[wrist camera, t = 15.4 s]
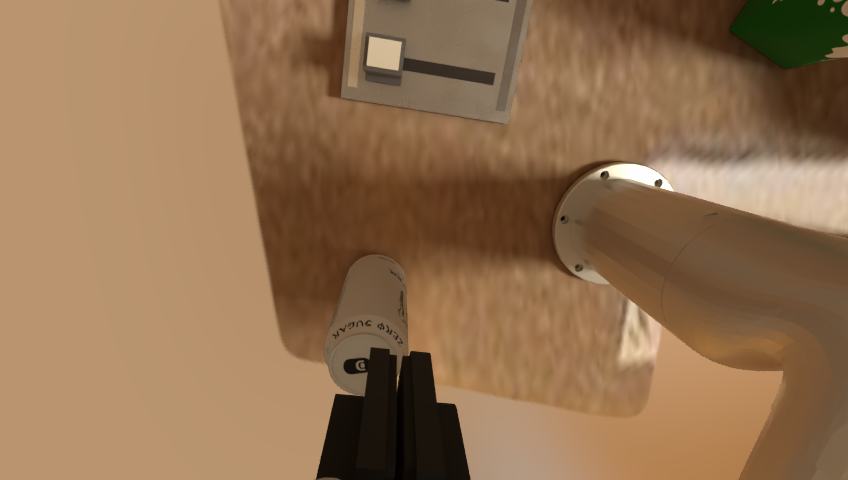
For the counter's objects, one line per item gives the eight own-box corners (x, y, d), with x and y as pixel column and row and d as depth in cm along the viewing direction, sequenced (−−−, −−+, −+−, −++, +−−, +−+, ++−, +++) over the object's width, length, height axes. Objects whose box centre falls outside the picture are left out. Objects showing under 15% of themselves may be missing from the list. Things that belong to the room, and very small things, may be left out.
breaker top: (406, 40, 33) (407, 30, 30) (400, 85, 34) (400, 82, 31) (370, 33, 33) (366, 23, 29) (365, 80, 34) (361, 75, 30)
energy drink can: (408, 301, 42) (413, 398, 28) (351, 308, 42) (326, 407, 28) (402, 248, 41) (404, 321, 26) (343, 254, 40) (311, 331, 26)
